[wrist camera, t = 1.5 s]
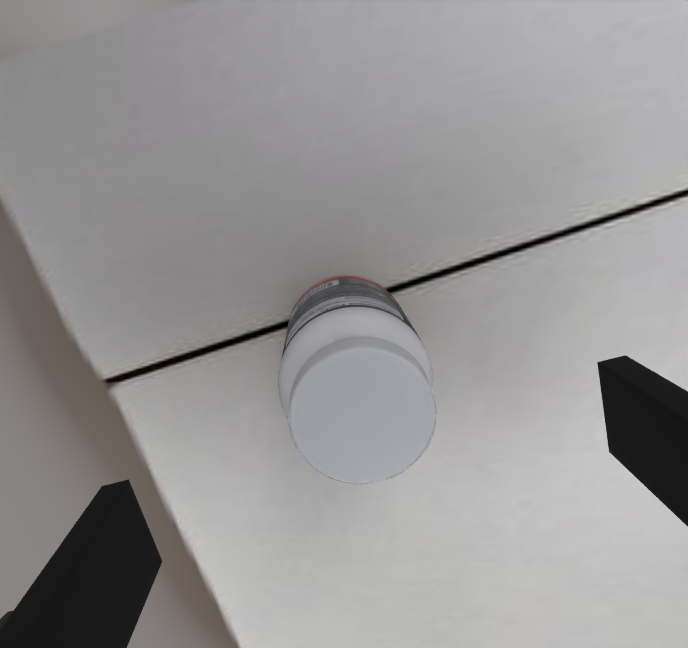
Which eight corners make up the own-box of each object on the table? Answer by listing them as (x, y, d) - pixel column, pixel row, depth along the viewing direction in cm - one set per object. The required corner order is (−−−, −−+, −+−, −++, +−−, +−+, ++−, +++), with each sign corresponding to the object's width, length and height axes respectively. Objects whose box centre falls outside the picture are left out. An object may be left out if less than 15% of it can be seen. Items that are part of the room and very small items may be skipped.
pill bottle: (394, 390, 27) (435, 509, 18) (282, 379, 27) (262, 494, 17) (412, 280, 26) (468, 344, 16) (294, 265, 25) (279, 322, 16)
